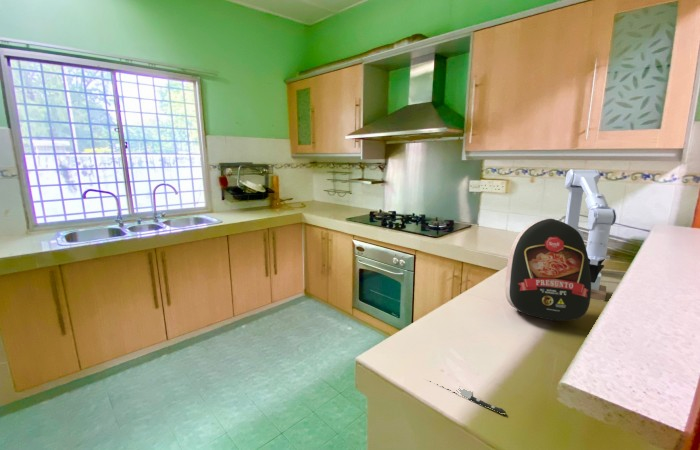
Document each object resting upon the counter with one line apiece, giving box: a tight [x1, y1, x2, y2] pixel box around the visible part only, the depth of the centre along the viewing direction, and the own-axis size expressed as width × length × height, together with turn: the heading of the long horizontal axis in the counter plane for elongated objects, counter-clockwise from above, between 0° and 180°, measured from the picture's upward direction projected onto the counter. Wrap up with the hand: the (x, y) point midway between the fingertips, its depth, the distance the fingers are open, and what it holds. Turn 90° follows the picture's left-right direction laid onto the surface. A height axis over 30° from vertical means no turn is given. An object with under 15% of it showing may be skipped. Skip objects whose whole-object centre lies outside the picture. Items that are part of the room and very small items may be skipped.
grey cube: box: [591, 272, 602, 291], centre depth 114 cm, size 5×5×5 cm
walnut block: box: [590, 284, 607, 302], centre depth 115 cm, size 9×9×3 cm
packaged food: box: [504, 218, 591, 322], centre depth 97 cm, size 22×20×30 cm
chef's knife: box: [456, 388, 507, 414], centre depth 67 cm, size 19×1×3 cm
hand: (591, 278), depth 114 cm, fingers open, 7 cm apart
